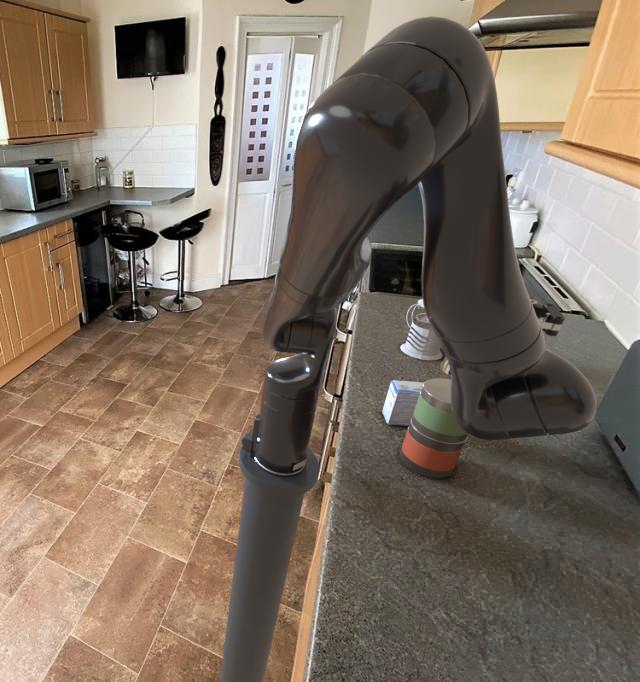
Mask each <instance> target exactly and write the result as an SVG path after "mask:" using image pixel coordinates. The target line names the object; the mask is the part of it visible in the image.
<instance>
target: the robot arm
mask: <svg viewBox="0 0 640 682" xmlns="http://www.w3.org/2000/svg"><path fill="white" fill-rule="evenodd" d="M498 99H499V98H498V91H497V85H496V79H495V75H494V70H493V67H492V64H491V61H490V57H489V56H488V54H487V51H486V49H485V47H484V45H483V44H482V42H481V41H480V40H479V39H478V37H477V36H476V35H475V34H474V33H473V31H471V30H470V29H469V28H467V27H466V26H464V25H463V24H462V23H460V22H458V21H455V20H453V19H450V18H447V17H440V16H424V17H418V18H414V19H411V20H409V21H406V22H403V23H402V24H400V25H398V26H396V27H394V28H393V29H392V30H390V31H389V32H388V33H386V34H385V35H384V36H383V37H382V38H381V39H379V40H378V41H377V42H376V43H375V44H374V45H372V46H371V47H370V48H369V49H368V50H367V51H366V52H365V53H364V54H363V55H361V56H360V58H358V59H357V60H356V61H355V62H354V63H353V64H352V65H351V66H350V67H348V69H347V70H345V71H344V73H342V74H341V75H340V76H339V77H338V78H337V79H335V81H334V82H332V84H330V85H328V86H327V88H326V89H324V90H323V92H322V93H321V94H319V95H318V96H317V98H316V99H315V100H314V101H313V102H312V103H311V105H310V106H309V108H308V109H307V111H306V112H305V114H304V116H303V118H302V121H301V123H300V124H299V128H298V131H297V134H296V139H295V145H294V153H293V154H294V155H293V167H292V182H291V183H292V185H291V203H290V212H289V215H288V216H289V217H288V220H287V225H286V231H285V235H284V240H283V243H282V246H281V248H280V252H279V258H278V262H277V264H276V265H277V266H276V272H275V277H274V278H275V279H274V283H273V289H272V292H271V294H270V297H269V299H268V301H267V303H266V306H265V308H264V312H263V315H262V320H261V321H262V322H261V336H262V340H263V343H264V345H265V347H267V348H268V349H270V350H271V351H273V352H278V353H286V354H294V355H290V356H287V357H282V358H279V359H275V360H273V361H272V362H270V363H268V365H267V366H266V368H265V371H264V377H263V386H262V393H261V400H260V407H259V413H257V415H256V416H255V417H254V420H253V426H252V428H251V429H250V430H249V431H248V432H247V433H246V434H245V436H243V437H242V438H241V441H240V442H241V447H242V445H243V447H242V450H244V451H246V452H248V453H250V457H251V458H253V459H254V460H255V462H256V464H257V465H258V466H259V467H260V468H261V469H262V470H264V471H266V472H267V473H269V474H272V475H275V476H280V477H292V476H295V475H298V474H299V473H301V472H302V471H303V469H304V467H305V464H306V460H307V459H306V455H307V450H308V448H309V445H310V441H311V437H312V436H311V435H312V431H313V426H314V421H315V416H316V411H317V408H318V402H319V397H320V393H321V388H322V382H323V379H324V376H325V375H324V374H325V371H326V368H327V367H326V366H327V362H328V359H329V355H330V352H331V349H332V345H333V342H334V338H335V334H336V329H337V322H338V311H337V307H338V306H340V305H341V304H342V303H344V302H345V301H346V300H347V299H348V298H350V296H351V295H352V294H353V292H354V291H355V289H356V288H357V286H358V285H359V283H360V282H361V280H362V279H363V277H364V276H365V274H366V272H367V270H368V268H369V266H370V264H371V259H372V243H371V240H370V239H371V238H370V237H369V234H370V233H371V231H372V230H373V229H374V228H375V226H376V225H377V224H378V223H379V222H380V221H381V219H382V218H384V216H385V215H386V214H387V213H388V212H389V210H391V208H393V207H394V206H395V205H396V204H397V203H399V201H401V200H402V199H403V198H404V197H405V196H406V195H407V194H408V193H410V191H412V190H413V189H414V188H415V187H416V186H418V188H419V193H420V196H421V202H422V213H423V251H422V262H421V281H420V282H421V283H420V284H421V299H423V305H424V308H423V309H424V312H425V313H426V315H427V317H428V320H429V322H430V324H431V325H430V326H432V328H431V329H432V330H434V332H435V334H436V336H437V338H438V340H439V342H440V344H441V348H442V350H443V352H444V354H445V357H447V360H448V363H449V366H450V372H451V376H450V380H451V385H450V401H451V408H452V412H453V416H454V418H455V420H456V422H457V423H458V425H459V426H460V427H461V428H462V429H463V430H464V431H466V432H467V433H468V435H470V436H472V437H474V438H477V439H479V440H483V441H502V440H511V439H513V440H514V439H521V438H522V439H525V438H533V437H534V438H535V437H544V436H557V435H565V434H573V433H576V432H579V431H581V430H584V429H585V428H587V427H588V426H589V425H590V424H591V423H592V422H593V421H594V420H595V418H596V416H597V413H598V409H599V405H598V404H599V402H598V398H597V397H598V396H597V394H596V392H595V389H594V388H593V386H592V384H591V382H589V381H590V380H588V378H587V377H586V376H585V374H583V373H582V372H581V371H580V370H579V368H577V367H576V366H575V365H574V364H573V363H571V362H570V361H569V360H567V359H565V358H564V357H563V356H561V355H559V354H557V353H555V352H553V351H552V350H549V349H548V348H546V339H545V335H547V336H550V337H557V336H558V334H559V333H560V330H561V329H562V326H563V324H564V322H565V320H566V318H565V317H564V315H563V313H561V311H560V309H558V307H557V306H556V304H553V303H550V302H545V303H543V305H542V304H538V301H537V300H535V299H534V298H533V297H532V296H531V295H530V294H529V292H528V290H527V287H526V285H525V281H524V278H523V274H522V271H521V268H520V264H519V259H518V256H517V252H516V246H515V242H514V235H513V228H512V222H511V221H512V220H511V213H510V205H509V204H510V203H509V195H508V187H507V186H508V185H507V178H506V169H505V161H504V153H503V142H502V140H503V139H502V130H501V118H500V117H501V116H500V109H499V108H500V107H499V100H498ZM544 334H545V335H544Z"/></svg>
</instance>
